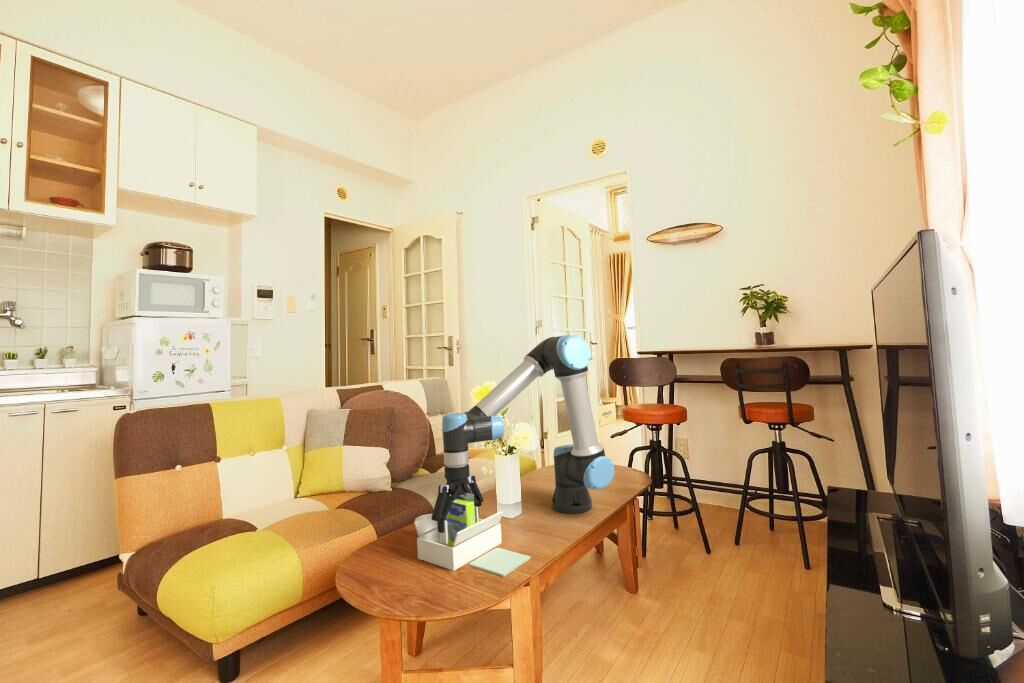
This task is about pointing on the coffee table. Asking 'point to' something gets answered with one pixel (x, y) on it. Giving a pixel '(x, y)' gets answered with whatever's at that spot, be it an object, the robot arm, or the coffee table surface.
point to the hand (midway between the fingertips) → (460, 534)
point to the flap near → (477, 528)
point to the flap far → (425, 524)
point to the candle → (422, 518)
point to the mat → (499, 561)
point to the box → (460, 517)
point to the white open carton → (457, 548)
